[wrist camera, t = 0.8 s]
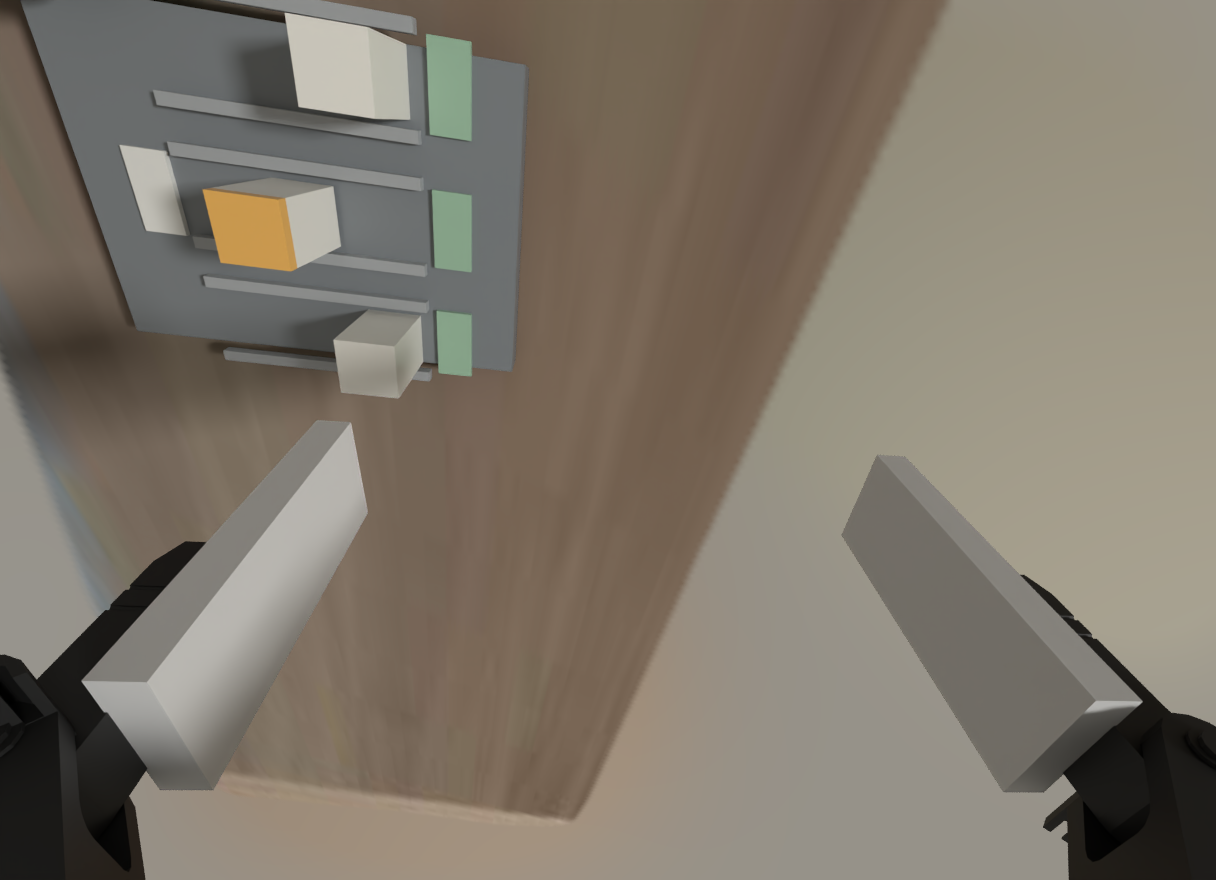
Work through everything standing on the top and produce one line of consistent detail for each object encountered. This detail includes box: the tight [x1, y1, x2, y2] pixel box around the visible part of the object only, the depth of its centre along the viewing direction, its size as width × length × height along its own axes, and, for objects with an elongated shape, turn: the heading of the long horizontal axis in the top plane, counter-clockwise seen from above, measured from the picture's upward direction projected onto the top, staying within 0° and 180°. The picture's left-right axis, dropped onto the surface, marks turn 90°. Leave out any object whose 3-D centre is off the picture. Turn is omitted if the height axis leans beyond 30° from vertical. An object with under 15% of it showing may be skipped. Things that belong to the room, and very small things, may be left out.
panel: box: [20, 0, 529, 398], centre depth 26 cm, size 18×22×7 cm
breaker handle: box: [202, 178, 341, 271], centre depth 25 cm, size 3×3×6 cm
